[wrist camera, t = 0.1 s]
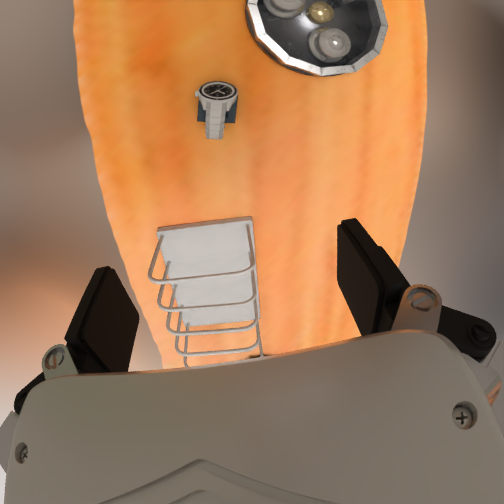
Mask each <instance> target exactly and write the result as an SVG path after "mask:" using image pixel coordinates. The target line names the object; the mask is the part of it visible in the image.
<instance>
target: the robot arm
mask: <svg viewBox="0 0 504 504" xmlns="http://www.w3.org/2000/svg"><path fill="white" fill-rule="evenodd" d="M337 281H338V285H339V287H340V289H341V291H342V293H343V295H344V298H345V300H346V302H347V304H348V306H349V308H350V311H351V313H352V315H353V317H354V320H355V322H356V324H357V326H358V329H359V331H360V333H361V335H362V336H360V337H355V338H351V339H347V340H343V341H338V342H334V343H329V344H325V345H320V346H315V347H311V348H306V349H301V350H296V351H291V352H286V353H281V354H275V355H270V356H264V357H258V358H252V359H245V360H239V361H232V362H225V363H218V364H210V365H202V366H193V367H183V368H173V369H161V370H150V371H135V372H134V371H133V372H128V368H129V363H130V359H131V354H132V349H133V345H134V340H135V336H136V332H137V328H138V324H139V314H138V312H137V310H136V308H135V306H134V305H133V303H132V301H131V299H130V298H129V296H128V294H127V292H126V290H125V288H124V287H123V285H122V283H121V281H120V279H119V277H118V275H117V273H116V271H115V270H114V269H111V268H110V267H109V266H106V267H101V268H97V269H96V270H95V272H94V274H93V276H92V278H91V280H90V282H89V284H88V286H87V288H86V290H85V292H84V294H83V296H82V299H81V301H80V303H79V305H78V307H77V310H76V312H75V314H74V316H73V319H72V321H71V323H70V325H69V328H68V330H67V333H66V335H65V338H64V339H65V340H66V341H67V345H66V346H65V345H63V344H58V345H55V346H53V347H51V348H50V349H49V350H48V351H47V352H46V354H45V355H44V357H43V359H42V369H43V372H42V373H41V374H40V375H38V376H37V377H36V378H35V379H34V380H32V381H31V382H30V383H29V384H28V385H27V386H25V388H23V389H22V390H21V391H20V392H19V393H18V394H17V395H16V398H15V401H14V410H15V412H13V411H11V412H10V414H9V415H8V417H7V418H6V420H5V421H4V423H3V424H2V426H1V427H0V464H1V466H2V468H3V469H4V471H5V472H6V474H7V475H6V483H5V498H4V504H504V339H503V338H502V339H501V341H500V340H498V339H497V338H496V332H495V330H494V328H493V327H492V325H491V324H490V323H488V322H487V321H485V320H483V319H480V318H477V317H475V316H472V315H469V314H465V313H463V312H460V311H457V310H454V309H451V308H448V307H445V306H443V305H442V299H441V296H440V294H439V293H438V292H437V291H436V290H435V289H433V288H432V287H430V286H427V285H422V284H417V285H413V286H410V284H409V283H408V281H407V280H406V279H405V277H404V276H403V274H402V273H401V272H400V270H399V269H398V267H397V266H396V265H395V263H394V262H393V261H392V259H391V258H390V257H389V255H388V254H387V253H386V251H385V250H384V249H383V248H382V247H381V246H377V244H376V243H375V242H374V240H373V239H372V238H371V237H370V235H369V234H368V233H367V231H366V230H365V229H364V228H363V226H362V225H361V224H360V223H359V221H358V220H357V219H356V218H353V219H347V220H342V222H341V224H340V225H338V226H337Z"/></svg>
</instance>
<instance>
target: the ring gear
mask: <svg viewBox="0 0 504 504" xmlns="http://www.w3.org/2000/svg"><path fill="white" fill-rule="evenodd" d="M257 2H258V0H249V1H248V4H247V7H246V10H247V13H248V16H249V20H250V23H251V26H252V30H253V33H254V36H255V39H256V40H257V41H258V42H259V43H260V44H261V45H262V46H263V47H264V48H265V49H266V50H267V51H268V52H269V53H271V54H272V55H273V56H274V57H275V58H276V59H277V60H278V61H279V62H280V63H281V64H283V65H286V66H289V67H292V68H295V69H298V70H301V71H304V72H307V73H309V74H312V75H315V76H324V75H332V74H341V73H351V72H357V71H358V70H359V69H360V68H362V67H363V66H364V65H366V64H367V63H368V62H369V61H371V60H372V59H373V58H375V57H376V56H377V55H379V54H380V51H381V48H382V45H383V42H384V38H385V35H386V32H387V29H388V24H387V20H386V16H385V12H384V8H383V5H382V1H381V0H366V3H367V7H368V10H369V14H370V18H371V21H372V25H373V27H372V30H371V33H370V37H369V40H368V43H367V46H366V49H365V50H364V51H363V52H361V53H360V54H359V55H357V56H356V57H355V58H353V59H352V60H351V61H350V62H348V63H347V64H346V65H341V66H331V67H323V68H320V67H318V66H315V65H313V64H310V63H307V62H304V61H301V60H298V59H296V58H293V57H290V56H289V55H288V54H287V53H286V52H285V51H284V50H283V49H282V48H281V47H280V46H279V45H278V44H277V43H276V42H275V41H273V40H272V39H271V38H270V37H269V36H268V35H267V34H266V33H265V30H264V26H263V23H262V20H261V16H260V13H259V10H258V7H257Z"/></svg>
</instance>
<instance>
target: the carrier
mask: <svg viewBox="0 0 504 504" xmlns="http://www.w3.org/2000/svg"><path fill="white" fill-rule="evenodd" d="M248 1H249V0H247V1H246V7H247V4H248ZM257 7H258V10H259V13H260V16H261V20H262V23H263V26H264V30H265V33H266V34H267V35H268V36H269V37H270V38H271V39H272V40H273V41H275V42H276V43H277V44H278V45H279V46H280V47H281V48H282V49H283V50H284V51H285V52H286V53H287V54H288V55H289V56H290V57H293V58H296V59H298V60H301V61H304V62H307V63H310V64H313V65H315V66H318V67H320V68H323V67H331V66H341V65H346V64H347V63H348V62H350V61H351V60H352V59H353V58H355V57H356V56H357V55H359V54H360V53H361V52H363V51H364V50H365V49H366V46H367V43H368V40H369V37H370V33H371V30H372V27H373V25H372V21H371V18H370V14H369V10H368V7H367V3H366V0H258V2H257ZM245 14H246V21H247V26H248V28H249V31H250V33H251V35H252V37H253V39H254V41H255V42H256V43H257V45H258V46H259V47H260V48H261V50H262V51H263V52H264V53H265V54H266V55H267V56H269V57H270V58H271V59H272V60H274V61H275V62H277V63H278V64H280V65H281V66H283V67H285V68H287V69H290V70H292V71H295V72H297V73H301V74H305V75H311V76H315V75H312V74H309V73H307V72H304V71H301V70H298V69H295V68H292V67H289V66H286V65H283V64H281V63H280V62H279V61H278V60H277V59H276V58H275V57H274V56H273V55H272V54H271V53H269V52H268V51H267V50H266V49H265V48H264V47H263V46H262V45H261V44H260V43H259V42H258V41H257V40H256V39H255V36H254V33H253V30H252V26H251V23H250V20H249V16H248V13H247V10H246V8H245ZM341 74H344V73H341ZM335 75H340V74H332V75H324V76H335Z"/></svg>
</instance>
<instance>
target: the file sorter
mask: <svg viewBox="0 0 504 504" xmlns="http://www.w3.org/2000/svg"><path fill="white" fill-rule="evenodd" d="M156 234H157V237H158V244H157V247H156V249H155V252H154V255H153V258H152V261H151V264H150V268H149V271H148V277H149V280H150V281H151V282H153V283H155V284H161V287H160V291H159V294H158V299H157V303H158V306H159V308H160V309H162V310H164V311H167V312H168V316H167V321H166V327H167V330H168V331H169V332H170V333H171V334H173V335H176V340H175V349H176V351H177V352H178V353H179V354H180V355H182V356H184V365H185V367H189V366H188V365H187V363H186V359H187V356H203V355H217V354H229V353H239V352H247V351H251V350H253V349H255V348H256V347H257V346H258V345H259V348H260V357H263V351H262V344H261V338H260V331H259V322H258V319H260V307H259V295H258V283H257V270H256V258H255V245H254V233H253V221H252V217H251V216H248V217H239V218H231V219H222V220H214V221H206V222H198V223H190V224H183V225H175V226H168V227H160V228H158V229H157V233H156ZM160 248H161V252H162V255H163V259H164V262H165V266H166V269H165V272H164V276H163V279H162V280H159V279H155V278H153V277H152V272H153V268H154V265H155V262H156V259H157V255H158V252H159V249H160ZM167 274H168V276H169V279H166V278H167ZM170 283H171V286H172V289H173V293H172V297H171V302H170V306H169V308H168V307H164V306H163V305H162V304H161V298H162V294H163V290H164V285H165V284H170ZM174 298H175V299H176V302H177V305H178V307H174V308H173V303H174ZM172 312H180V313H179V319H178V326H177V331H173V330H172V329H171V328H170V326H169V325H170V319H171V313H172ZM181 319H182V320H183V322H184V325H185V326H186V331H184V332H180V326H181ZM249 320H254V322H253V323H252V324H251V325H249V326H246V327H240V328H229V329H217V330H202V331H189V326H200V325H211V324H221V323H231V322H240V321H249ZM255 325H256V332H257V341H256V343H255V344H254V345H252V346H250V347H248V348H241V349H231V350H220V351H208V352H193V353H187V344H188V335H203V334H217V333H230V332H241V331H247V330H250V329H252V328H253V327H254V326H255ZM184 335H186V336H185V348H184V352H182V351H180V350H179V349H178V341H179V336H184Z"/></svg>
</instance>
